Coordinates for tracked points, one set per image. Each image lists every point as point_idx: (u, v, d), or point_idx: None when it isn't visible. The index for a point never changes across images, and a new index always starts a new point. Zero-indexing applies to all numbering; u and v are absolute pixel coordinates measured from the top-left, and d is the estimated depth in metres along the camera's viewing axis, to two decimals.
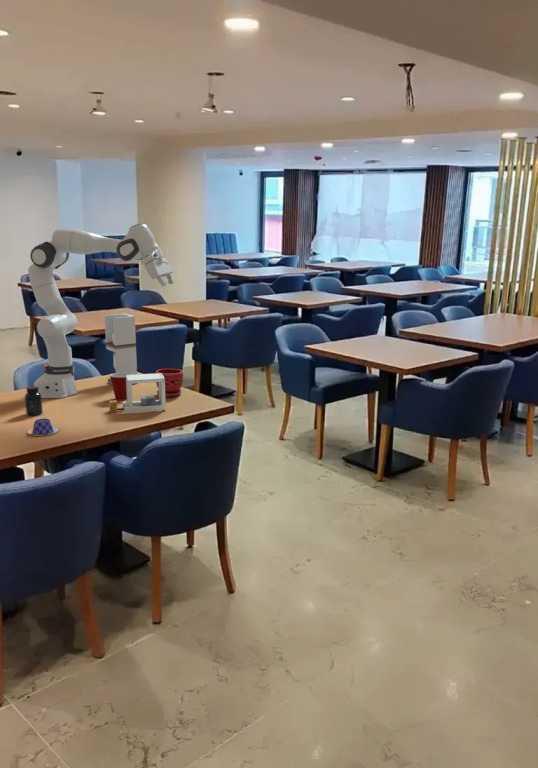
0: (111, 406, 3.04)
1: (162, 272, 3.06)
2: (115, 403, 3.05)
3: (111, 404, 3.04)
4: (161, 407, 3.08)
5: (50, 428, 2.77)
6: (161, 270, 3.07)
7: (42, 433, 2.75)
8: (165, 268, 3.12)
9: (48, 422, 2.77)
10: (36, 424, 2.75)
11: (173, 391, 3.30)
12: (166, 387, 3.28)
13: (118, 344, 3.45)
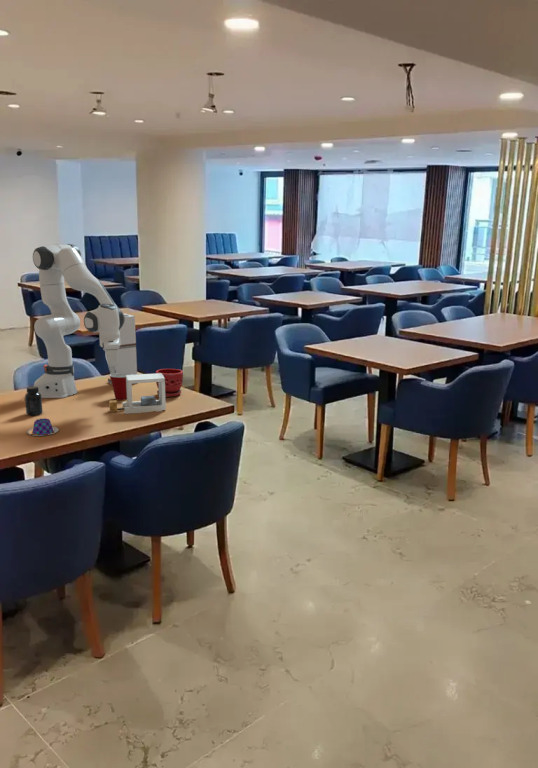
0: (111, 406, 3.04)
1: None
2: (115, 403, 3.05)
3: (111, 404, 3.04)
4: (161, 407, 3.08)
5: (50, 428, 2.77)
6: None
7: (42, 433, 2.75)
8: None
9: (48, 422, 2.77)
10: (36, 424, 2.75)
11: (173, 391, 3.30)
12: (166, 387, 3.28)
13: None
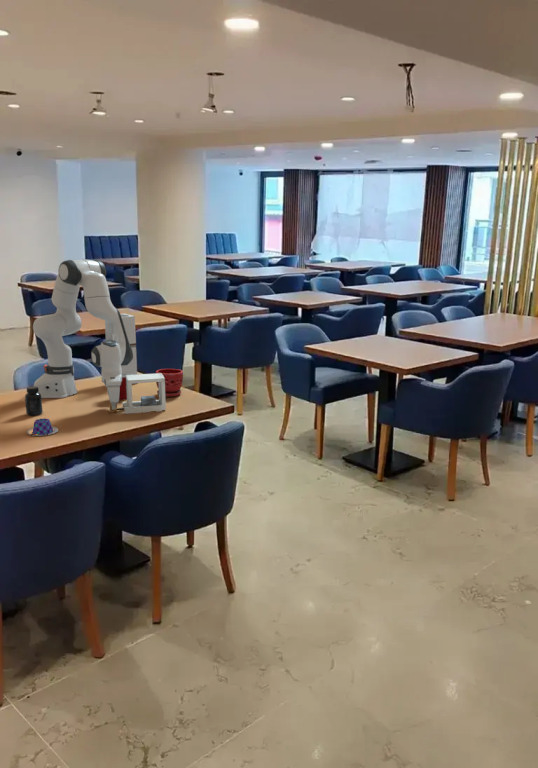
0: (111, 406, 3.04)
1: None
2: None
3: None
4: (161, 407, 3.08)
5: (50, 428, 2.77)
6: None
7: (43, 433, 2.75)
8: None
9: (48, 422, 2.77)
10: (36, 424, 2.75)
11: (173, 391, 3.30)
12: (166, 387, 3.28)
13: None
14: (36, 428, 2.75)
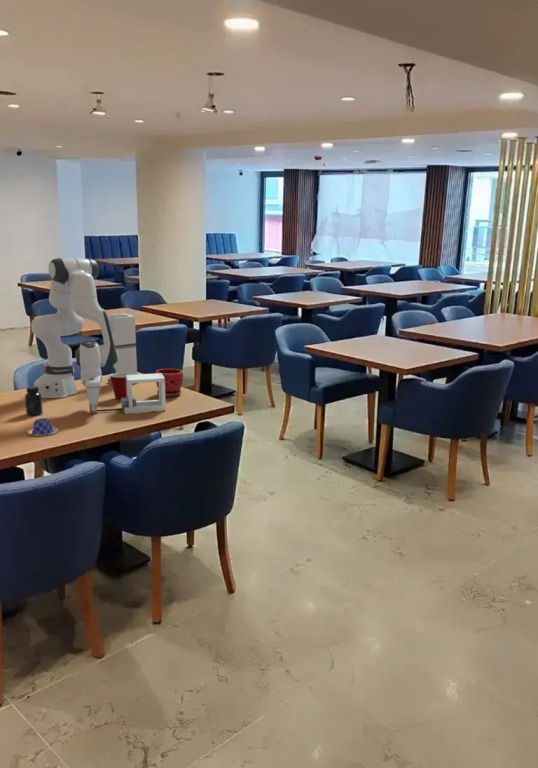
0: None
1: None
2: None
3: None
4: (161, 407, 3.08)
5: (50, 428, 2.78)
6: None
7: (43, 433, 2.75)
8: None
9: (48, 422, 2.77)
10: (37, 424, 2.75)
11: (173, 391, 3.30)
12: (166, 387, 3.28)
13: (118, 344, 3.45)
14: (36, 428, 2.75)
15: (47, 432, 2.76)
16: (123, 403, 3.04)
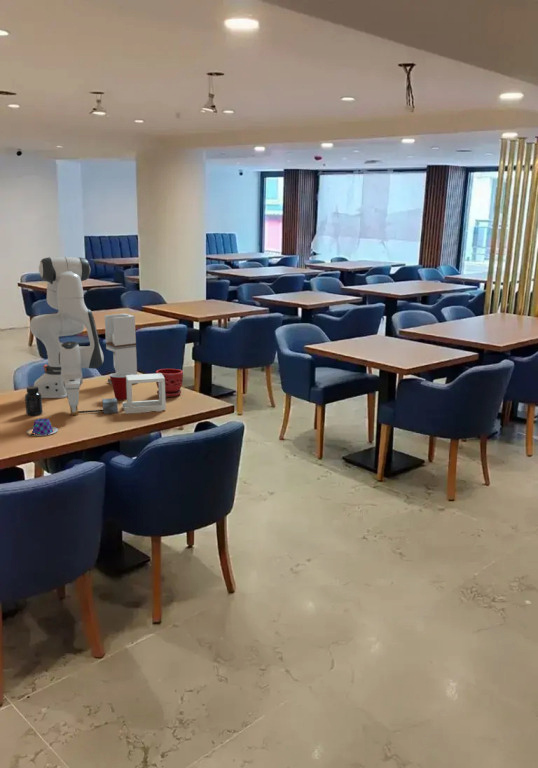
0: (71, 409, 3.00)
1: None
2: (76, 406, 3.00)
3: None
4: (161, 407, 3.08)
5: (50, 427, 2.78)
6: None
7: (44, 433, 2.75)
8: None
9: (48, 422, 2.77)
10: (37, 424, 2.75)
11: (173, 391, 3.30)
12: (166, 387, 3.28)
13: (118, 344, 3.45)
14: (37, 428, 2.75)
15: (47, 432, 2.76)
16: (104, 404, 3.02)
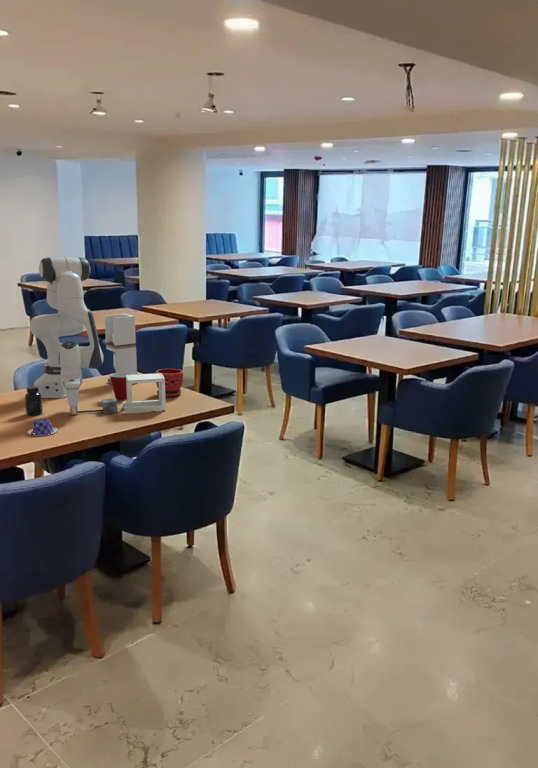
0: None
1: None
2: (76, 406, 3.00)
3: None
4: (161, 407, 3.08)
5: (50, 427, 2.78)
6: None
7: (44, 433, 2.75)
8: None
9: (48, 421, 2.77)
10: (37, 424, 2.75)
11: (173, 391, 3.30)
12: (166, 387, 3.28)
13: (118, 344, 3.45)
14: (37, 428, 2.75)
15: (48, 432, 2.76)
16: (104, 404, 3.02)
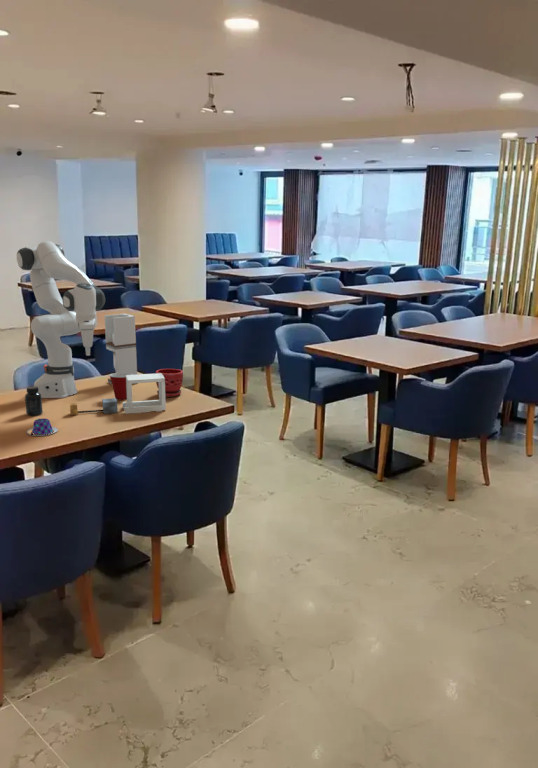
0: (71, 409, 3.00)
1: None
2: (76, 406, 3.00)
3: (71, 407, 3.00)
4: (161, 407, 3.08)
5: (50, 427, 2.78)
6: None
7: (44, 433, 2.75)
8: None
9: (48, 421, 2.77)
10: (37, 424, 2.75)
11: (173, 391, 3.30)
12: (166, 387, 3.28)
13: (118, 344, 3.45)
14: (37, 428, 2.75)
15: (48, 432, 2.76)
16: (104, 404, 3.02)
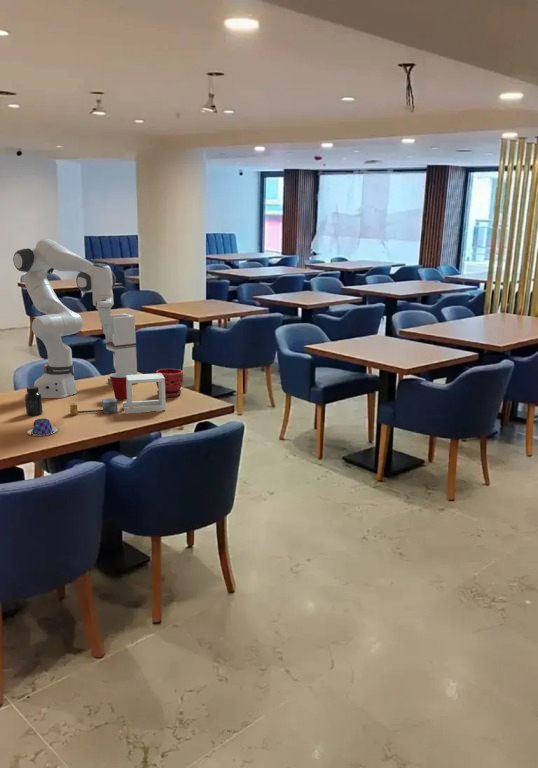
0: (71, 409, 3.00)
1: None
2: (76, 406, 3.00)
3: (71, 407, 3.00)
4: (161, 407, 3.08)
5: (50, 427, 2.78)
6: None
7: (45, 433, 2.75)
8: None
9: (48, 421, 2.77)
10: (37, 424, 2.75)
11: (173, 391, 3.30)
12: (166, 387, 3.28)
13: (118, 344, 3.45)
14: (37, 428, 2.75)
15: (48, 432, 2.76)
16: (104, 404, 3.02)
